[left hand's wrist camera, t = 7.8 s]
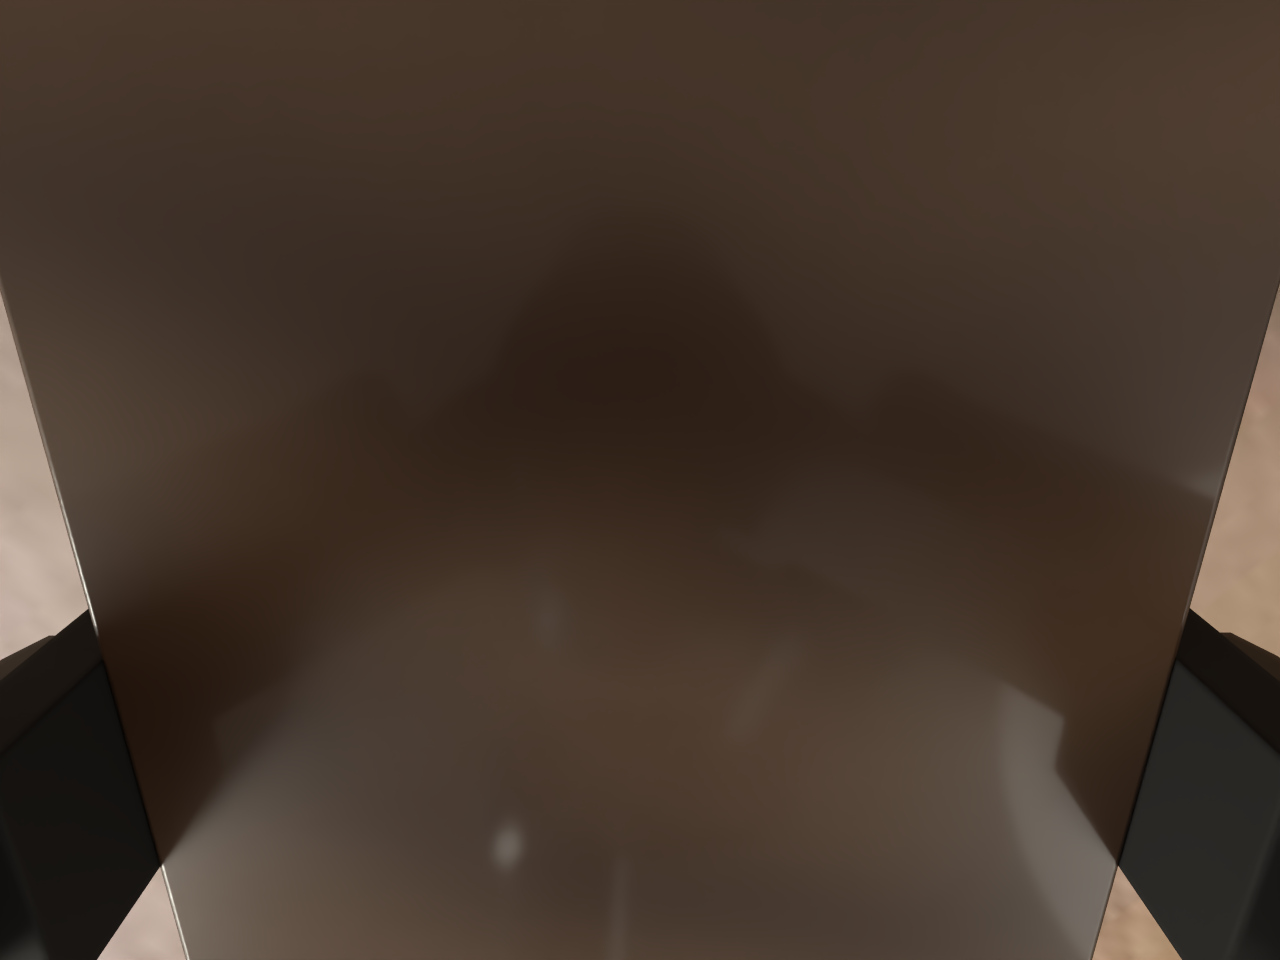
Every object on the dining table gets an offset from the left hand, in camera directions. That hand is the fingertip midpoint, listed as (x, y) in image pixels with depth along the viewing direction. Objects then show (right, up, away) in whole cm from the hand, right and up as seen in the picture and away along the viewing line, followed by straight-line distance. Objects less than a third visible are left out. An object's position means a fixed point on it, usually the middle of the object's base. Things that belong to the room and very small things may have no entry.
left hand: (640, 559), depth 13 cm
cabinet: (0, +7, +3) cm, 7 cm away
